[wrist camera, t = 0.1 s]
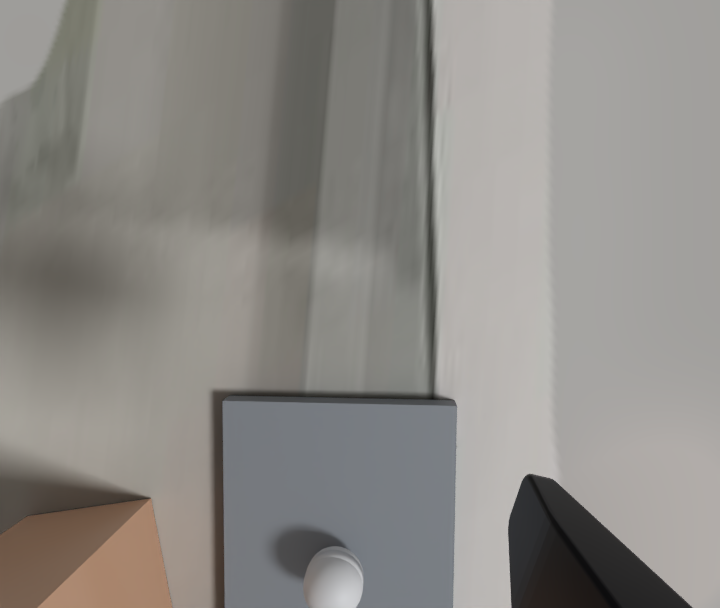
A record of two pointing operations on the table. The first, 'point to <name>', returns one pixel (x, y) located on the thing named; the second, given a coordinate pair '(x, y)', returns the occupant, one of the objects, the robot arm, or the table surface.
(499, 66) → the table surface
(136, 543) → the cover box
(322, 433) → the post board
